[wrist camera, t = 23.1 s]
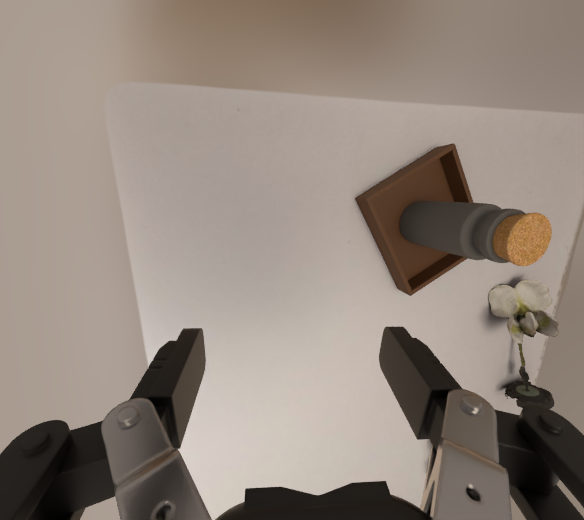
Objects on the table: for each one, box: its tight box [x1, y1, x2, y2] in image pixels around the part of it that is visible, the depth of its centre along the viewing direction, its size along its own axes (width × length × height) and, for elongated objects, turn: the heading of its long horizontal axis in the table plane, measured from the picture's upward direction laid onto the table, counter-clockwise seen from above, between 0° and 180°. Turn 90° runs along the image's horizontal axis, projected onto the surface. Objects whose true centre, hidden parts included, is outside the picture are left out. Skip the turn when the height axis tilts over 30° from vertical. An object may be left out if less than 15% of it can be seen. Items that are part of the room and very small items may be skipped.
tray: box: [355, 144, 473, 296], centre depth 37 cm, size 15×13×3 cm
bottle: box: [400, 201, 551, 266], centre depth 31 cm, size 6×6×15 cm
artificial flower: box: [488, 280, 559, 409], centre depth 44 cm, size 9×22×10 cm, turn 12°
